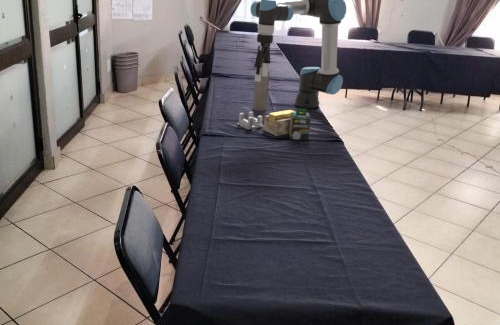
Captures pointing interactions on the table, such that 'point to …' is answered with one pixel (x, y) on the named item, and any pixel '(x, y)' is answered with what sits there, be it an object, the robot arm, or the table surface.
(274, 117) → the wooden block
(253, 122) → the stand
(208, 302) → the table surface
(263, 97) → the thermos bottle
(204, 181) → the table surface
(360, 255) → the table surface
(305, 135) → the chalk box
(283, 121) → the beige channeled block
